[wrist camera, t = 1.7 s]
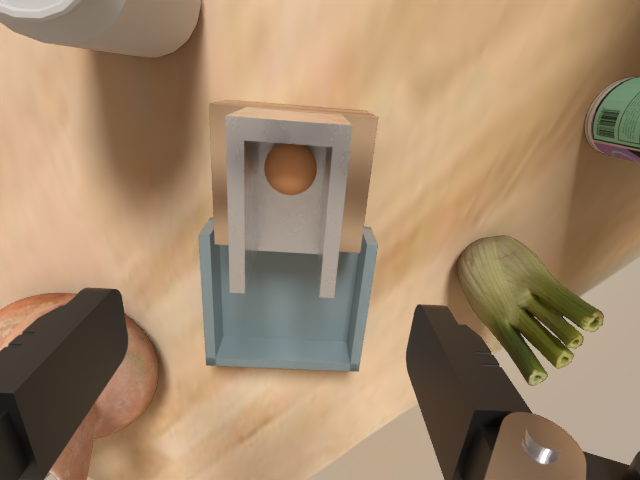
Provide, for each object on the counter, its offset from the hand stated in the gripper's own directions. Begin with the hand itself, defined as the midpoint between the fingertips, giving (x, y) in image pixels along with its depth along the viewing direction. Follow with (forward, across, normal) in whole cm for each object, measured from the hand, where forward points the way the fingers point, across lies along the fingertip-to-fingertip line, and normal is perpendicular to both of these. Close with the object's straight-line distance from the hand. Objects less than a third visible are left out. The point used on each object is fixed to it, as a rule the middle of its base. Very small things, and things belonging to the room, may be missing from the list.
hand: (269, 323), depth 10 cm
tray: (+20, 0, +10) cm, 22 cm away
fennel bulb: (+20, -16, +7) cm, 26 cm away
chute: (+14, 0, 0) cm, 15 cm away
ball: (+14, 0, -2) cm, 14 cm away
